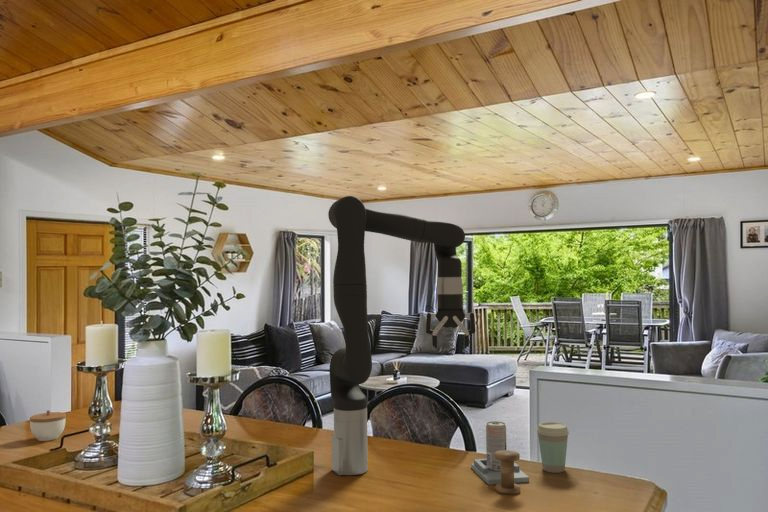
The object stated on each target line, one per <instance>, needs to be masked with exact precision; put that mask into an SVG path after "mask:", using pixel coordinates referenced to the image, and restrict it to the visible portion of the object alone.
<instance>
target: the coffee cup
mask: <svg viewBox="0 0 768 512" xmlns="http://www.w3.org/2000/svg"><path fill="white" fill-rule="evenodd" d="M536 433H537V435H538V443H539V451H540V458H541V466H542V470H543V471H545V472H548V473H551V474H552V473H554V474H555V473H557V474H560V473H563V472H565V470H566V469H565V468H566V458H567V450H568V449H567V448H568V439H569V438H568V436H569V435H570V432H569V429H568V426H567V424H564V423H563V422H562V423H561V422H557V421H555V422H554V421H544V422H539V424H538V425H537V428H536Z"/></svg>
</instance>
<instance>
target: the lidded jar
mask: <svg viewBox="0 0 768 512" xmlns="http://www.w3.org/2000/svg"><path fill="white" fill-rule="evenodd" d="M66 417H67V414H66V413H65V412H62V411H60V412H59V411H55V412H54V411H53V412H51V410H49V409H48V410H46V412H44V413H38V414H34V415H31V416H30V417H29V424H30V425H29V426H30V432H31V434H32V436H33V437H34V438H35V439H37V441H39V442H47V441H54V440H57V439H59V437H60V436H61V435H62V433H63V432H64V429H65V427H66V422H67V421H66Z"/></svg>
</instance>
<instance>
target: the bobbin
mask: <svg viewBox="0 0 768 512" xmlns="http://www.w3.org/2000/svg"><path fill="white" fill-rule="evenodd" d="M520 457H521V456H520V453H519V452H518V451H515V450H510V449H507V450H501V451H497V452H495V458H496V459H498V460H501V483H498V484H495V492H497V493H498V494H500V495H501V494H502V495H508V496H513V495H518V494H520V493H521V486H520V485H519V484H517V483H514V462H516V461H519V460H520Z"/></svg>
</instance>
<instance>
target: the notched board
mask: <svg viewBox="0 0 768 512" xmlns="http://www.w3.org/2000/svg"><path fill="white" fill-rule="evenodd" d="M470 467H471V468H470V469H472V470H473V471H474V472H475V473H476V474H477V475H478V476H479V477H480V479H482V480H483V481H484V482H485V483H486V484H487V485H489V486H490V485H496V484H498V483H501V471H491V470H489V469H488V468H487V458H477V459H473V463H470ZM529 482H530V476H529V475H527V474H526V473H525V472H524V471H522V470H521V469H520V465H519V464H517V463H516V461H514V483H515V484H517V483H519V484H520V483H529Z"/></svg>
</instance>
